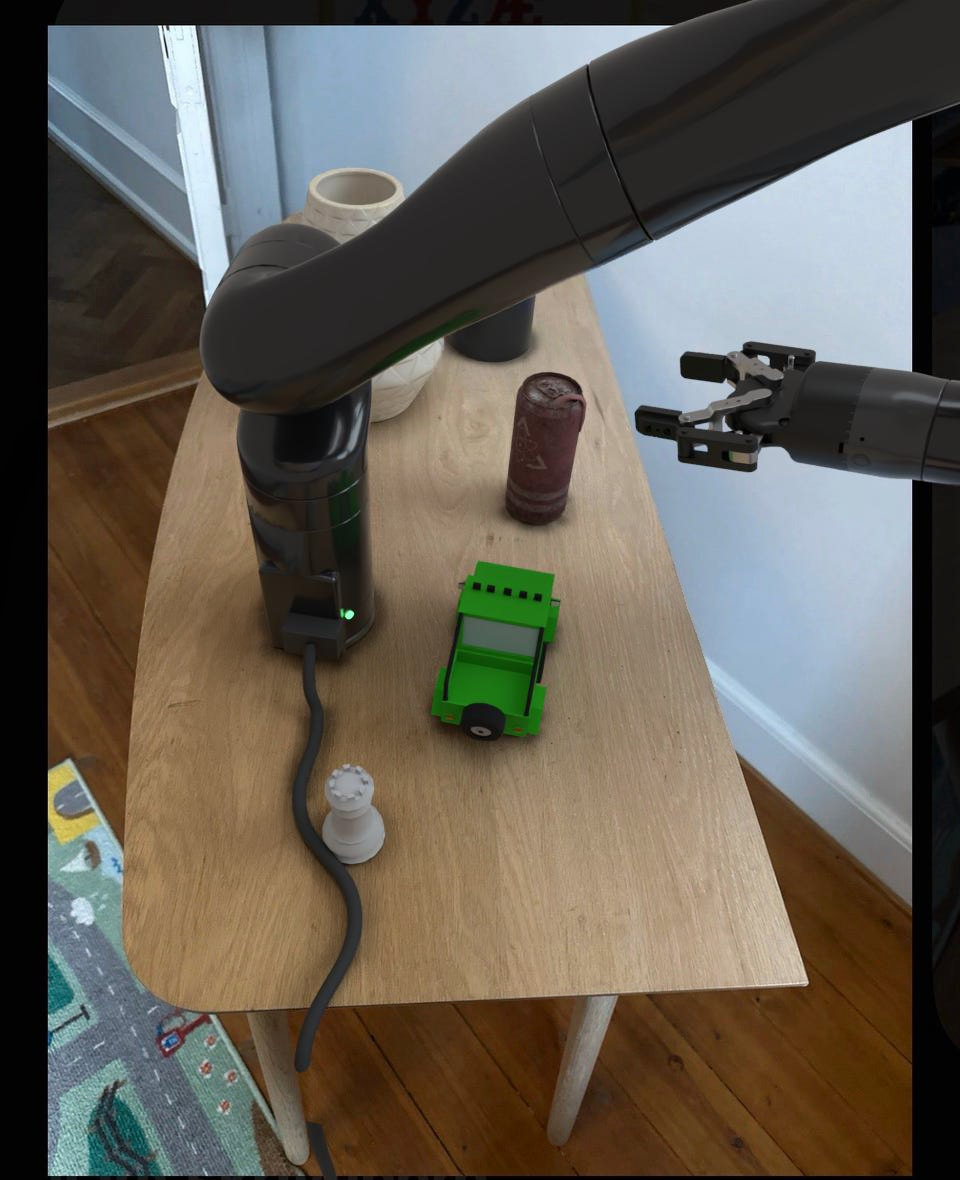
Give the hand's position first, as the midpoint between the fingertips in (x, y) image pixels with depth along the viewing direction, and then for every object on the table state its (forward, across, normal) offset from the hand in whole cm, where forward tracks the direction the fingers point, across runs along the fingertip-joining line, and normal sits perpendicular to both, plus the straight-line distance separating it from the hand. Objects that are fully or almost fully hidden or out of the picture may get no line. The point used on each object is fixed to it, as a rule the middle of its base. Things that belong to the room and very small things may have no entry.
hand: (659, 390), depth 72 cm
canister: (+33, -22, +11) cm, 41 cm away
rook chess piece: (+7, +39, +14) cm, 42 cm away
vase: (+38, -4, +9) cm, 39 cm away
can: (+14, +1, +15) cm, 20 cm away
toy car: (+6, +22, +16) cm, 27 cm away
